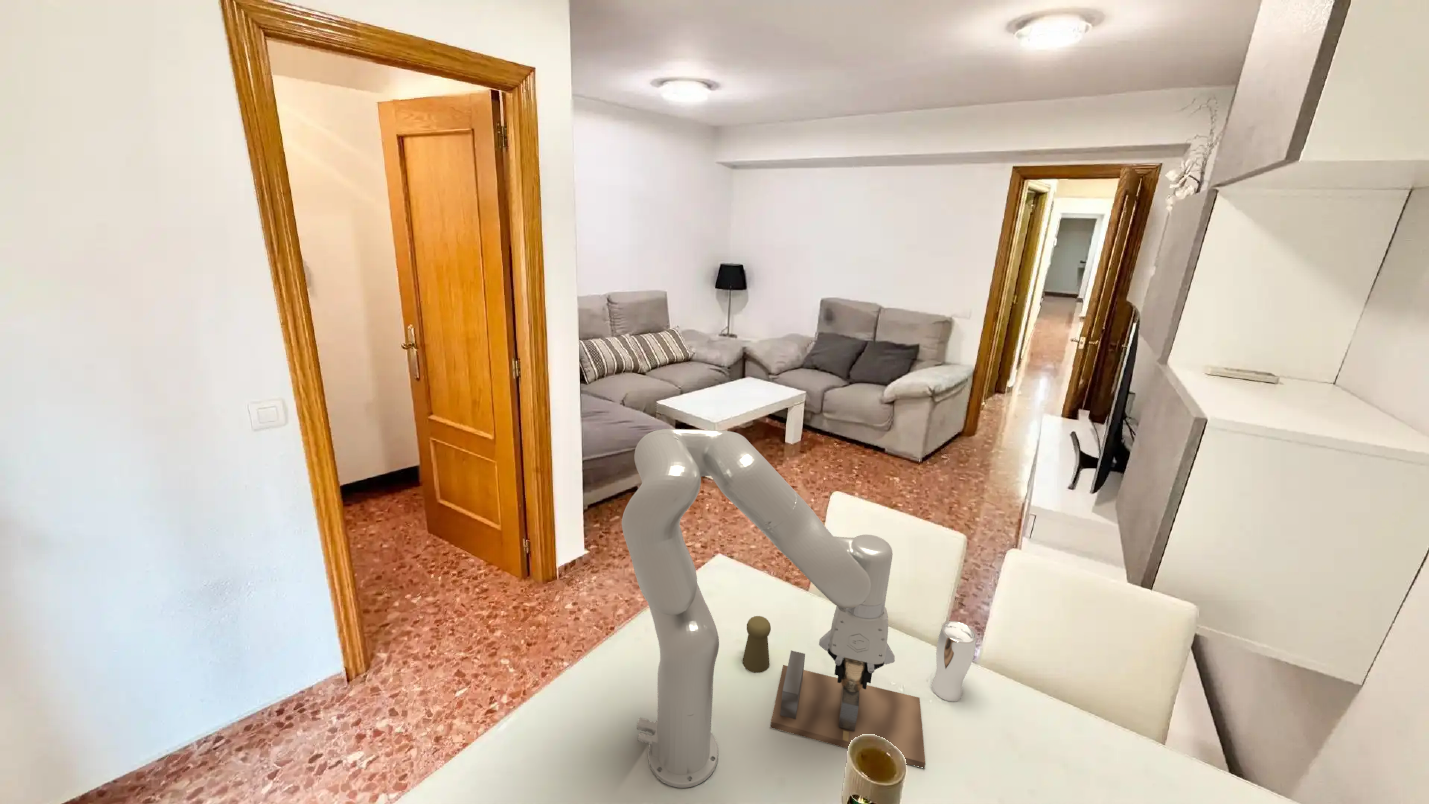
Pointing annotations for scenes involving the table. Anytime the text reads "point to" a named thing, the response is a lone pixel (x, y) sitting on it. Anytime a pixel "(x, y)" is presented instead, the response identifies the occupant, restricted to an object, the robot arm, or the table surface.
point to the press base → (815, 711)
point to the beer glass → (953, 659)
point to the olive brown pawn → (757, 645)
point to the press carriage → (850, 692)
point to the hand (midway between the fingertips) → (852, 679)
